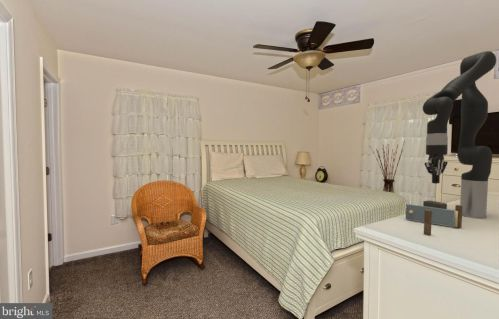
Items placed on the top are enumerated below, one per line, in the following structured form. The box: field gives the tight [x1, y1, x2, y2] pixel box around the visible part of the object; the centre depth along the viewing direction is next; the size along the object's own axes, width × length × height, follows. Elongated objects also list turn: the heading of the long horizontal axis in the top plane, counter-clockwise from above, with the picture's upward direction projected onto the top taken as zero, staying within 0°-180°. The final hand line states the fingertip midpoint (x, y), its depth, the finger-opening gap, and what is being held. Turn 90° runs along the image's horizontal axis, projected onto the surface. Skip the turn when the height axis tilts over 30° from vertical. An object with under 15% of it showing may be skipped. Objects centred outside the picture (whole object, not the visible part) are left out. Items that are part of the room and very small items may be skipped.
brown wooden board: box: [423, 204, 463, 236], centre depth 93 cm, size 21×2×9 cm, turn 113°
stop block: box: [422, 200, 448, 209], centre depth 107 cm, size 4×7×8 cm, turn 23°
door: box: [405, 203, 458, 228], centre depth 101 cm, size 18×3×6 cm, turn 48°
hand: (435, 183), depth 107 cm, fingers closed
